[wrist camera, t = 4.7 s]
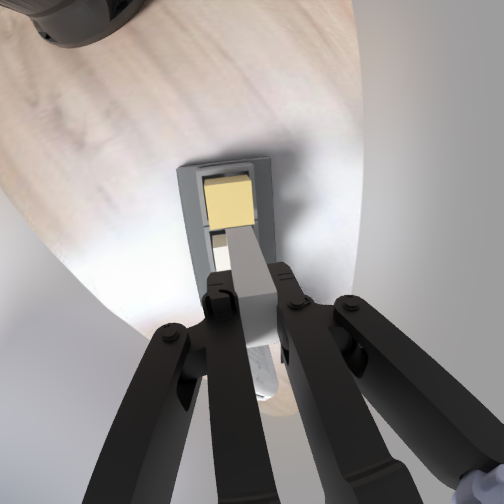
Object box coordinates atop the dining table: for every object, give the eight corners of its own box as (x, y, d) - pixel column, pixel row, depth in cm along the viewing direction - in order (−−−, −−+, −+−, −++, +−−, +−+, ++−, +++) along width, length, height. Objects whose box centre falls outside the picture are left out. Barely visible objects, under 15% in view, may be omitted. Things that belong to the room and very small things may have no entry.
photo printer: (201, 311, 37) (201, 381, 26) (224, 293, 36) (232, 363, 25) (247, 347, 41) (260, 412, 30) (269, 333, 41) (288, 398, 30)
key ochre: (204, 179, 25) (204, 186, 22) (246, 174, 25) (251, 180, 23) (210, 219, 27) (210, 229, 24) (249, 213, 27) (254, 224, 25)
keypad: (177, 167, 28) (173, 173, 25) (267, 156, 29) (275, 161, 26) (201, 299, 36) (201, 318, 33) (274, 289, 37) (281, 307, 34)
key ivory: (212, 235, 28) (212, 248, 25) (251, 230, 28) (256, 242, 25) (217, 269, 29) (218, 284, 27) (254, 264, 30) (258, 279, 27)
